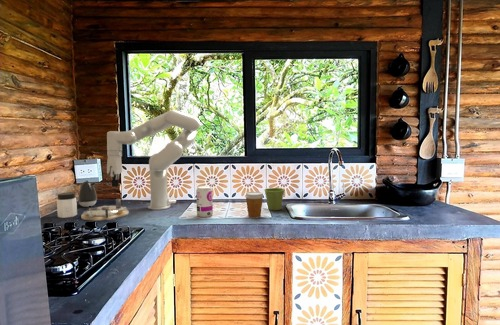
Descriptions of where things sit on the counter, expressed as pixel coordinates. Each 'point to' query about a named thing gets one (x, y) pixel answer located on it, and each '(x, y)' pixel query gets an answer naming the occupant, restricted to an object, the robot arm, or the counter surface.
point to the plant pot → (274, 198)
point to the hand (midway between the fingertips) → (115, 186)
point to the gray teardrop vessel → (87, 194)
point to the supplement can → (204, 201)
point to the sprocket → (101, 210)
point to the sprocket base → (100, 218)
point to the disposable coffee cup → (254, 203)
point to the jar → (66, 205)
